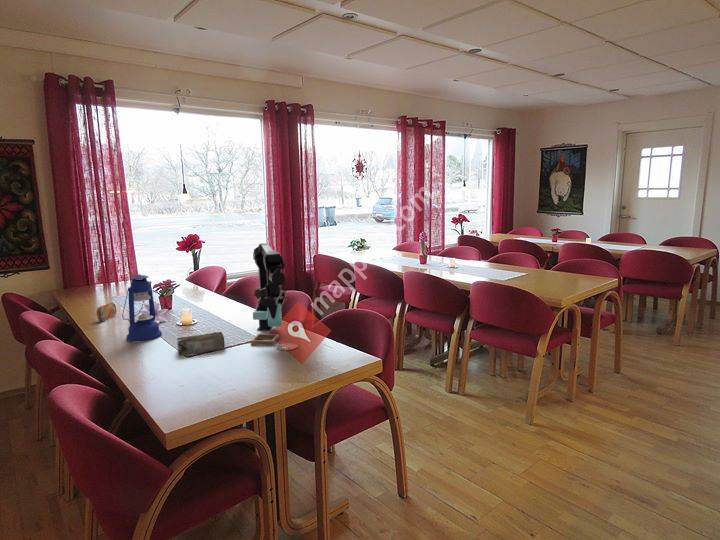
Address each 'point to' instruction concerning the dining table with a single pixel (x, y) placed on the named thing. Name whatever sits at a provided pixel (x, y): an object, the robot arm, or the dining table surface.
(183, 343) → the grey brown rectangular block
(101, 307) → the tin
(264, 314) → the jug
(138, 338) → the lantern
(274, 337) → the holder
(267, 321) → the robot arm
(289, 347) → the coaster
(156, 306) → the water lily
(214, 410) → the dining table surface
